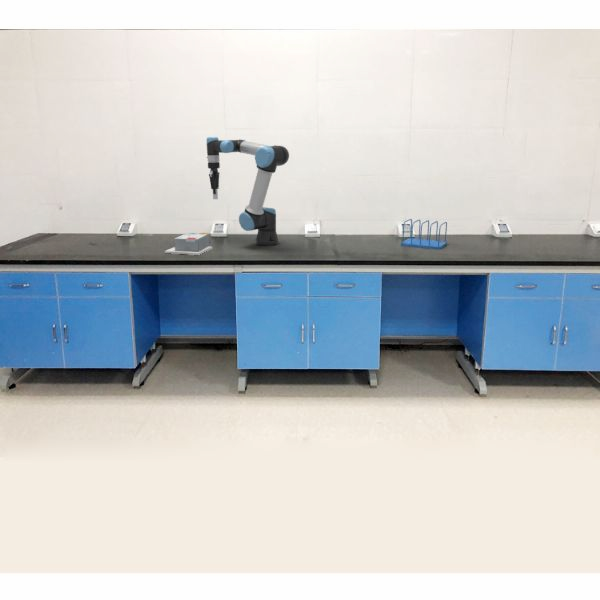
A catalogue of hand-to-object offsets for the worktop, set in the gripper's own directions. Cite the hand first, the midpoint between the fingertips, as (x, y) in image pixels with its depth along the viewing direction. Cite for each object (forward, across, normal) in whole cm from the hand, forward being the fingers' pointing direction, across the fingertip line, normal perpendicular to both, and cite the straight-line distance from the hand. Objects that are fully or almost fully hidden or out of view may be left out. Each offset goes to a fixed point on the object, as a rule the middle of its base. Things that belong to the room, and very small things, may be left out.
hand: (215, 199), depth 382 cm
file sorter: (+29, -15, +134) cm, 138 cm away
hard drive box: (+22, +23, -3) cm, 32 cm away
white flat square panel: (+27, +36, -5) cm, 45 cm away
